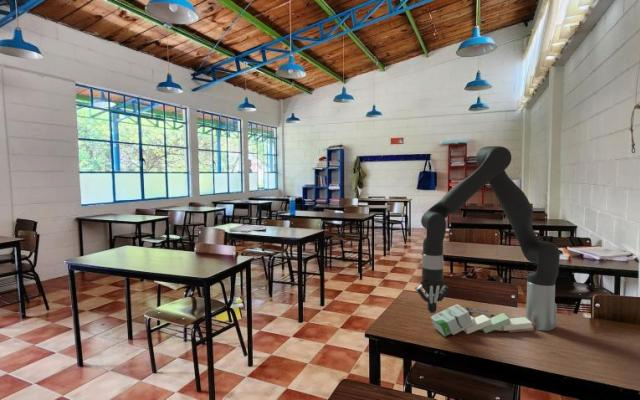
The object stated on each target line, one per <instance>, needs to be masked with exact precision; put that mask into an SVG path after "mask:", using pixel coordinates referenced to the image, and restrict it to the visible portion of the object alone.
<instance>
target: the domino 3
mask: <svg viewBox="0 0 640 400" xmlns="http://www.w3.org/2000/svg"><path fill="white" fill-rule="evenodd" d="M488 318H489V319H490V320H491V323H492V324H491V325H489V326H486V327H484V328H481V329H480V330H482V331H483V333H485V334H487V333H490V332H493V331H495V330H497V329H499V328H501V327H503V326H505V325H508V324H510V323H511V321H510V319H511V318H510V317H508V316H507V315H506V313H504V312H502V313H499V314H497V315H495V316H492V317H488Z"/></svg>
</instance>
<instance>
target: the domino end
mask: <svg viewBox="0 0 640 400" xmlns="http://www.w3.org/2000/svg"><path fill="white" fill-rule="evenodd" d="M532 331H535V329H534V327H533V326H532V328H527V329H517V330H507V332H509V333H519V332H520V333H521V332H532Z"/></svg>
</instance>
